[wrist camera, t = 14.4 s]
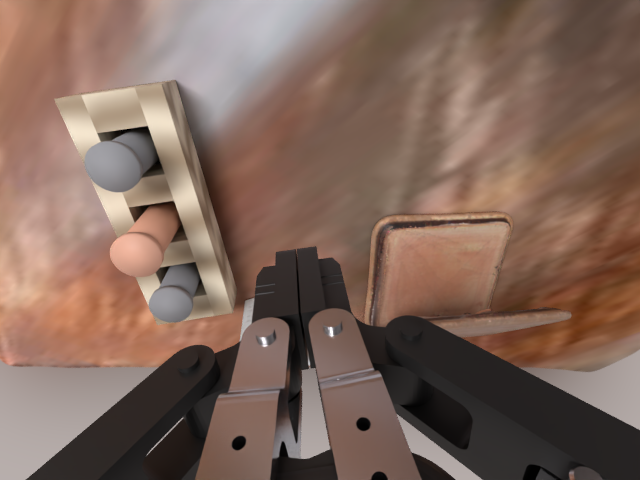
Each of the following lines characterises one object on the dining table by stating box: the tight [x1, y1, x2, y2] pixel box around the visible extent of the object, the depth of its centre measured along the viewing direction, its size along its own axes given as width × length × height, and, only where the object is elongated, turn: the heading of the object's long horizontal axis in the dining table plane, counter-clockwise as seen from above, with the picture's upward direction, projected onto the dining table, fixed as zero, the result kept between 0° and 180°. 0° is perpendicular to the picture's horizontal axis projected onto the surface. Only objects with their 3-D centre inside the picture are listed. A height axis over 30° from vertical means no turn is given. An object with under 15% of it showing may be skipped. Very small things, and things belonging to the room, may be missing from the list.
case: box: [365, 212, 571, 337], centre depth 47 cm, size 20×21×16 cm
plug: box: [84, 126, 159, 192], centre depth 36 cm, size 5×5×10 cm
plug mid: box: [110, 201, 182, 277], centre depth 38 cm, size 5×5×10 cm
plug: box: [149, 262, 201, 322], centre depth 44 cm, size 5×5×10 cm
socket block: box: [54, 80, 237, 325], centre depth 42 cm, size 28×10×5 cm, turn 7°
